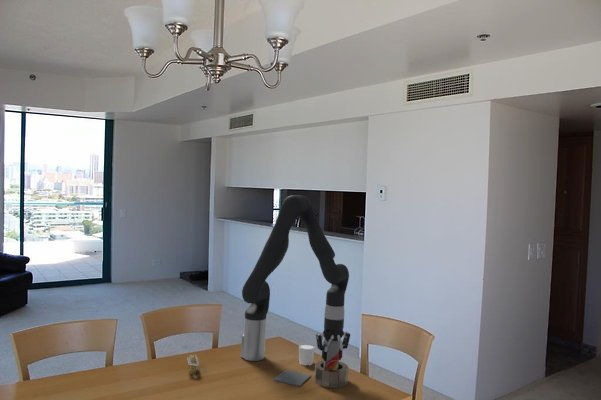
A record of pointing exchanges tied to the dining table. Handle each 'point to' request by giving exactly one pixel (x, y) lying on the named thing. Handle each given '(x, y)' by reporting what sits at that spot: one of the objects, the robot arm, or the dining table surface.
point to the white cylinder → (306, 354)
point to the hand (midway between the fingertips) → (331, 359)
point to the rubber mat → (292, 377)
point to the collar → (331, 375)
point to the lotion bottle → (332, 353)
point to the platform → (193, 363)
